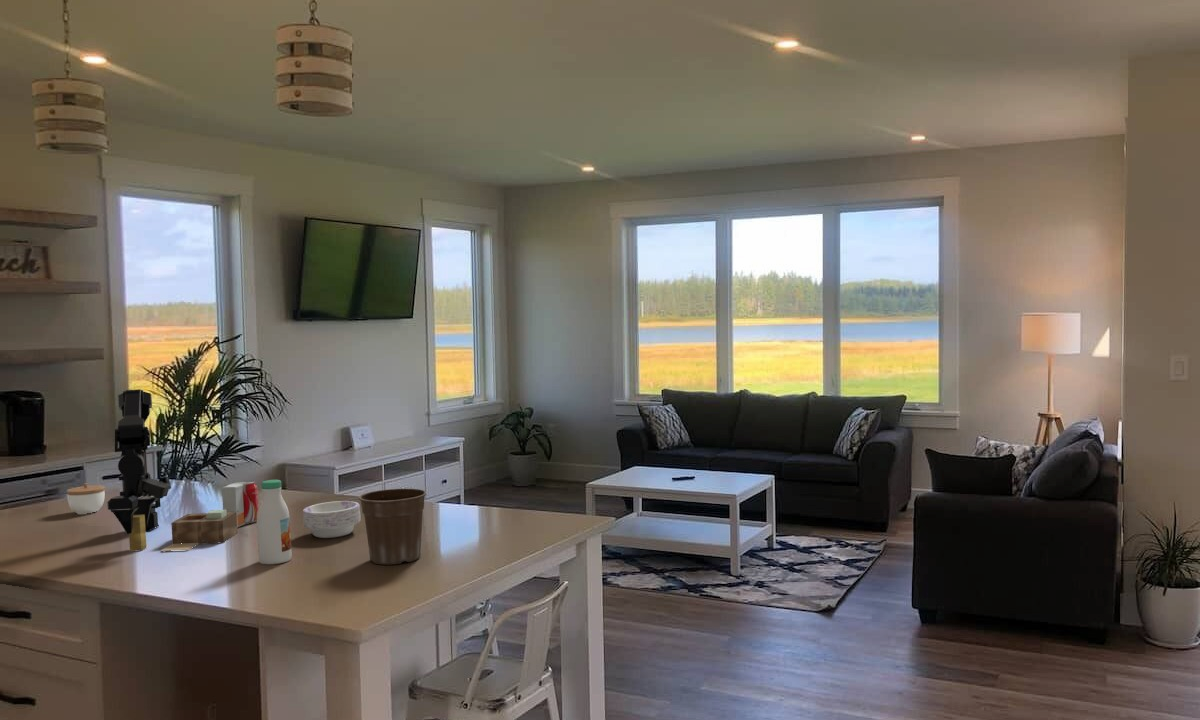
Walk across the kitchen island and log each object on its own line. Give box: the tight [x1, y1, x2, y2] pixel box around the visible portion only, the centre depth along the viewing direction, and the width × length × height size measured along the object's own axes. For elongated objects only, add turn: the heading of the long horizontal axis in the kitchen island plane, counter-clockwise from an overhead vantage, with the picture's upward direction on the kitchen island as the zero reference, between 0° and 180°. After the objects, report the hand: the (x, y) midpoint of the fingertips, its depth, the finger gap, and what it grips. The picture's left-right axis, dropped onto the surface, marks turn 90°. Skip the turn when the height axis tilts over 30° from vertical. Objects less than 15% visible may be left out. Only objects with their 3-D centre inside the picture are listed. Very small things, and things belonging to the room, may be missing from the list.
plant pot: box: [358, 488, 427, 566], centre depth 228 cm, size 16×16×16 cm
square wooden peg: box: [128, 515, 147, 552], centre depth 245 cm, size 3×3×9 cm
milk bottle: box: [256, 479, 293, 565], centre depth 229 cm, size 8×8×20 cm
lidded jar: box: [66, 482, 106, 515], centre depth 296 cm, size 11×11×9 cm
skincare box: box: [221, 483, 247, 529], centre depth 270 cm, size 6×4×12 cm
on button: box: [205, 509, 227, 519], centre depth 255 cm, size 4×4×3 cm
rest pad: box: [160, 543, 199, 552], centre depth 246 cm, size 7×7×1 cm
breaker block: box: [171, 512, 238, 544], centre depth 255 cm, size 14×11×6 cm
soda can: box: [233, 480, 260, 525], centre depth 274 cm, size 7×7×12 cm
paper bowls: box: [302, 500, 362, 539], centre depth 256 cm, size 15×15×8 cm
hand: (137, 529), depth 245 cm, fingers open, 9 cm apart
